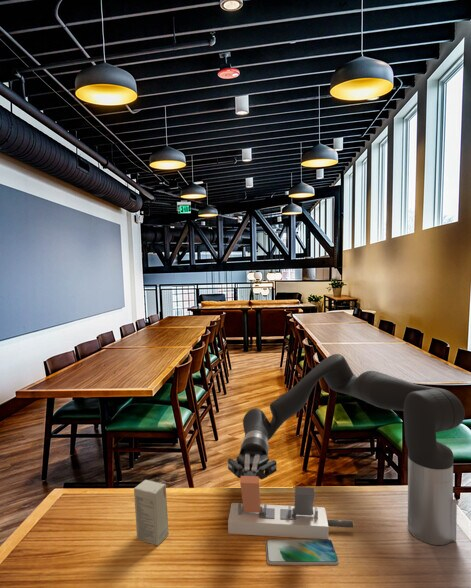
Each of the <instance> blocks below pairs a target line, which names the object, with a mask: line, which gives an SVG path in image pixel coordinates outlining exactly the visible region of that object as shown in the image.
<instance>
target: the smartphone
mask: <svg viewBox="0 0 471 588" xmlns="http://www.w3.org/2000/svg"><path fill="white" fill-rule="evenodd" d="M265 552H266V554H265V555H266V563H267V564H268V565H269V566H270V565H271V566H272V565H274V566H283V565H284V566H288V565H289V566H291V565H292V566H301V565H302V566H303V565H304V566H323V565H324V566H337V565H339V563H340V562H339V558H338V555H337V552H336V549H335V546H334V543H333V541H332V539H330V538H329V539H314V538H298V539H297V538H293V539H292V538H290V539H289V538H288V539H287V538H286V539H285V538H282V539H281V538H279V539H276V538H273V539H271V538H270V539H269V538H268V539H266V540H265Z"/></svg>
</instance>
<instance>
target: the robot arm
mask: <svg viewBox="0 0 471 588" xmlns="http://www.w3.org/2000/svg"><path fill="white" fill-rule="evenodd" d="M322 378H323V379H324V380H325V382H326V384H327V386H328V387H329V388H330V389H331V390H332V391H334V392H337V393H341V394H345V395H347V396H352V397H354V398H356V399H359V400H362V401H364V402H365V403H367V404H370V405H372V406H375V407H377V408H380V409H384V410H390V411H391V410H392V411H400V412H403V425H404V426H403V427H404V440H405V445H406V447H407V528H408V531H409V533H410V534H411V535H413V537H415V538H416V539H418V540H420V541H421V542H424V543H426V544H430V545H434V546H443V545H444V546H445V545H447V544H449V543H451V542H457V515H458V514H457V510H458V507H457V505H458V503H457V498H456V497H455V496H454V453H453V451H452V449H451V448H450V447H449V446H447V444H445V443H441V441H440V442H439V441H437V433H439V432H440V433H441V432H445V431H450V430H453V429H456V428H458V427H459V426H460V425H461V424H462V423H463V421H464V420H465V416H466V415H465V414H466V413H465V412H466V411H465V408H464V405H463V403H462V402H461V400H460V399H459V398H458V396H456V395H455V394H454V393H452V392H451V391H449V390H447V389H445V388H440V387H434V386H433V387H432V386H426V385H420V384H416V383H413V382H409V381H407V380H403V379H401V378H397V377H395V376H392V375H388V374H387V373H382V372H379V371H375V370H366V371H365V372H362V373H360V375H358V376H356V375H355V374H354V372H353V370H352V368H351V367H350V366H349V363H348V361H347V359H346V358H345V356H344V355H342V354H339V353H335V354H330V355H329V356H327V357H325V358H324V359H323V360H322V361H320V362H319V363H318V364H317V365H316V366H315V367H313V368H312V370H310V371H309V372H308V373H307V374H306V375H305V376H304V377H303V378H302V379H301V380H299V382H298V383H296V384H295V385H294V386H293V387H292V388H290V389H289V390H288V391H286V392H285V393H284V394H282V395H281V396H279V397H278V398H276V399H275V400H273V401H272V402H271V403H270V404H269V410H270V412H271V416H272V417H271V420H269V419H268V418H267V416H266V414H265V412H264V411H263V410H262V409H260V408H252V409H250V410H248V411H247V412H246V413H245V414H244V416H243V420H242V426H243V432H244V438H243V440H242V442H241V445H240V450H239V453H238V455H237V456H236V458H235V459H233V458H228V459H227V470H229V471H230V472H231V473H232V474H233V475H234V476H236V477H237V479H241V476H259V480H264V479H266V478H268V477H269V476H271V475H273V474H274V473H275V472H278V471H277V467H278V466H277V460H275V459H272V460H271V461H270V458H269V441H270V440H271V438H272V437H273V436H274V435H275V434H276V432H277V431H278V430H279V429H280V428H281V426H282V425H283V424H284V423H285V422H287V421H288V420H289V419H291V417H293V416H294V415H296V414H297V413H298V412H300V411H302V409H303V408H304V406H305V405H306V403H307V401H308V400H309V397H310V395H311V393H312V391H313V389H314V388H315V385H316V384H317V383H318V382H319V381H320V380H321V379H322Z"/></svg>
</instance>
